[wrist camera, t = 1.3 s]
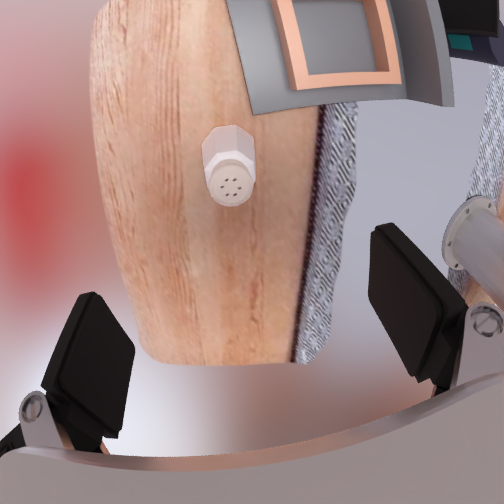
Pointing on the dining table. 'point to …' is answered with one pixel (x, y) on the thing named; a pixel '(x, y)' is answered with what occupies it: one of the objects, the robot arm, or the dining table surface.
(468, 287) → the dining table surface
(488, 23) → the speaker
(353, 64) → the gray walled base stand
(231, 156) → the salt shaker
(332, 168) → the dining table surface
